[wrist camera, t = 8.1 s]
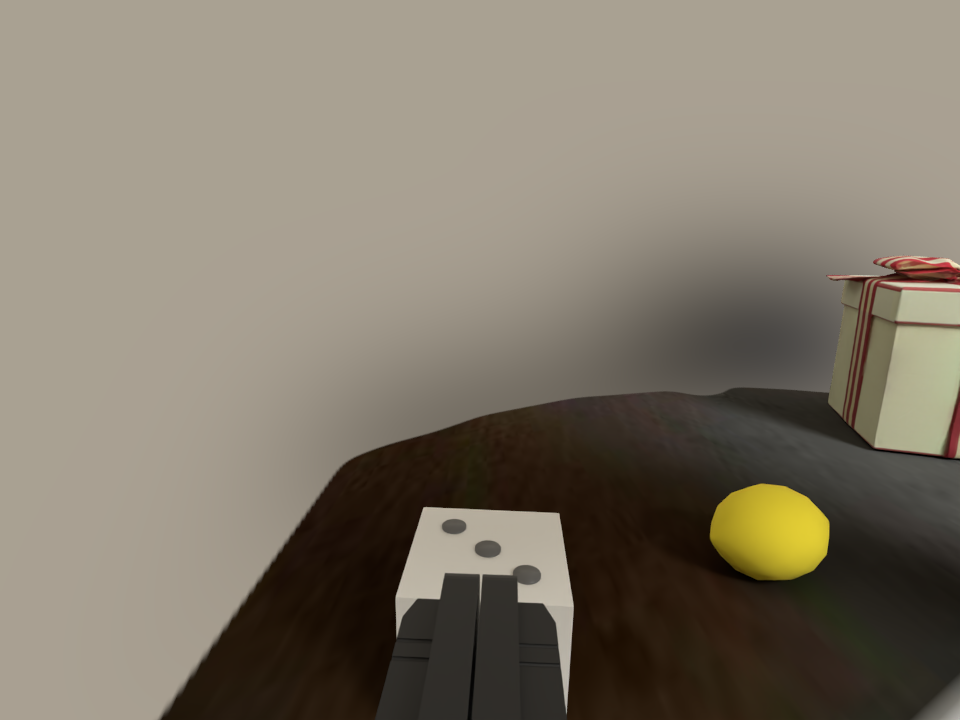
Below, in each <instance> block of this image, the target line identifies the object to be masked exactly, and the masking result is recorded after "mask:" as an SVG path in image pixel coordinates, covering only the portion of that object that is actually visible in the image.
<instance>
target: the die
mask: <svg viewBox="0 0 960 720" xmlns="http://www.w3.org/2000/svg"><path fill="white" fill-rule="evenodd" d="M445 573H462V574H480V602H481V588H482V576H483V574H492V575H517V581H518V602H524V603H543V604H544V605H545V607H546V608H547V610H548V611H549V613H550V614H551V616H552V617H553V619H554V620H555V622H556V628H557V637H558V649H559V654H560V663H561V672H562V680H563V689H564V698H565V706H566V713H567V698H568V683H569V669H570V654H571V639H572V625H573V610H574V606H573V599H572V593H571V586H570V580H569V573H568V567H567V561H566V554H565V548H564V541H563V535H562V529H561V522H560V516H559V513H543V512H521V511H498V510H476V509H454V508H431V507H424V508H423V511H422V514H421V518H420V521H419V524H418V527H417V530H416V534H415V537H414V540H413V543H412V546H411V550H410V553H409V556H408V559H407V562H406V566H405V569H404V572H403V575H402V578H401V581H400V585H399V588H398V591H397V594H396V633H397V635H398V631H399V628H400V624H401V620H402V616H403V615H404V614H405V613H406V612H407V610H408V609H409V608H410V607H411V606H412V604H413V603H414V602H415V601H416V600H417V599H418V598H421V599H440V596H441V590H442V585H443V579H444V575H445Z"/></svg>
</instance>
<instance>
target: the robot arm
mask: <svg viewBox="0 0 960 720" xmlns="http://www.w3.org/2000/svg"><path fill="white" fill-rule="evenodd" d="M375 720H567V715H566V706H565V698H564V689H563V680H562V672H561V663H560V654H559V649H558V637H557V628H556V622H555V620H554V619H553V617H552V616H551V614H550V613H549V611H548V610H547V608H546V607H545V605H544V604H543V603H524V602H518V581H517V575H492V574H483V576H482V588H481V602H480V574H462V573H445V575H444V579H443V585H442V590H441V596H440V599H421V598H418V599H417V600H416V601H415V602H414V603H413V604H412V606H411V607H410V608H409V609H408V610H407V612H406V613H405V614H404V615H403V616H402V620H401V624H400V628H399V631H398V635H397V641H396V643H395V646H394V650H393V654H392V661H390V665H389V669H388V673H387V676H386V680H385V684H384V688H383V692H382V695H381V699H380V703H379V707H378V710H377V714H376V718H375Z"/></svg>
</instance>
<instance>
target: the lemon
mask: <svg viewBox="0 0 960 720" xmlns="http://www.w3.org/2000/svg"><path fill="white" fill-rule="evenodd" d="M710 540H711V542H712V544H713V546H714V547H715V548H716V550H717V551H718V553H719V554H720V555H721V557H723V558H724V559H725V560H726V561H727V562H728V563H729V564H730V565H731V566H732V567H733V568H734V569H735V570H737V571H739V572H741V573H743V574H745V575H748V576H750V577H752V578H754V579H756V580H792V579H795V578H797V577H799V576H802V575H804V574H807V573H809V572H811V571H813V570H814V569H815V568H816V567H817V566H818V564H819V563H820V562H821V561H822V560H823V558H824V557H825V556H826V555H827V549H828V542H829V521H828V519H827V518H826V517H825V515H824V514H823V513H822V512H821V511H820V510H819V509H818V508H817V507H816V506H815V505H814V504H813V503H812V502H811V501H810V500H809V499H808V498H807V497H806V496H804V495H802V494H800V493H798V492H796V491H794V490H792V489H790V488H788V487H786V486H778V485H770V484H758V485H754V486H751V487H748V488H745V489H741V490H738V491H735V492H733V493H731V494H730V495H729V496H728V497H727V498H725V499H724V500H723V501H722V502H721V503H720V504H719V505H718V506H717V508H716V511H715V514H714V517H713V519H712V522H711V530H710Z"/></svg>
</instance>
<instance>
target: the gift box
mask: <svg viewBox="0 0 960 720" xmlns="http://www.w3.org/2000/svg"><path fill="white" fill-rule="evenodd" d="M873 263H874V264H876V265H879V266H882V267H885V268H888V269H892V270H894V271H895V272H896V273H894V274H890V275H886V276H861V275H848V276H840V275H826V276H827V277H828V278H829V279H830V280H833V281H838V280H845V284H844V288H843V293H842V299H841V303H842V304H845V305H844V311H843V317H842V323H841V329H840V336H839V342H838V347H837V353H836V359H835V365H834V371H833V377H832V383H831V387H830V393H829V399H828V404H829V405H830V406H831V407H832V408H833V409H834V410H835V411H836V412H837V413H838V414H839V415H840V416H841V417H842V418H843V420H844V421H845V422H846V423H847V424H848V425H849V426H851V427H852V428H853V429H854V430H855V431H856V432H857V433H858V434H859V435H860V436H861V437H862V438H863V439H864V440H865V441H866V442H867V443H868V444H869V445H870V446H871V447H873V448H874V449H880V450H889V451H899V452H905V453H915V454H923V455H932V456H942V457H946V458H957V459H960V266H959V265H958V264H956V263H955V262H953V261H951V260H950V259H947V258H933V257H918V256H894V257H885V258H879V259H876V260H874V262H873Z"/></svg>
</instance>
